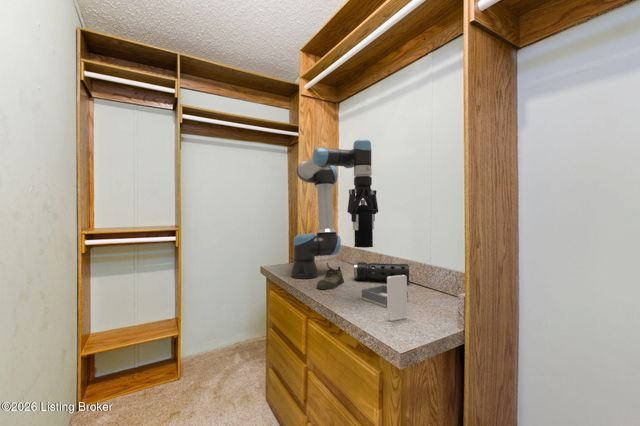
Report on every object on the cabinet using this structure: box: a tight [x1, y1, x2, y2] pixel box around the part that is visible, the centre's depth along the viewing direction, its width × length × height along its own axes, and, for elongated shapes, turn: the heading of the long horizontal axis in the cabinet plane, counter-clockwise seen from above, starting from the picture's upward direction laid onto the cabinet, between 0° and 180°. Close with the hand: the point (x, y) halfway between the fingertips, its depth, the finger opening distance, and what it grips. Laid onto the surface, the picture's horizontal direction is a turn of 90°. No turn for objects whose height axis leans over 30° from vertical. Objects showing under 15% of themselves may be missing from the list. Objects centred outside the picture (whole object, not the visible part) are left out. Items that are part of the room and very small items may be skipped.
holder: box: [361, 284, 409, 309], centre depth 120 cm, size 13×13×4 cm
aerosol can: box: [353, 199, 374, 249], centre depth 121 cm, size 8×8×20 cm
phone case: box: [386, 275, 408, 322], centre depth 98 cm, size 7×1×15 cm, turn 111°
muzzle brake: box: [353, 261, 410, 284], centre depth 150 cm, size 10×28×10 cm, turn 78°
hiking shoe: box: [316, 262, 345, 291], centre depth 141 cm, size 8×20×12 cm, turn 146°
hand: (363, 229), depth 121 cm, fingers closed on aerosol can, 8 cm apart
